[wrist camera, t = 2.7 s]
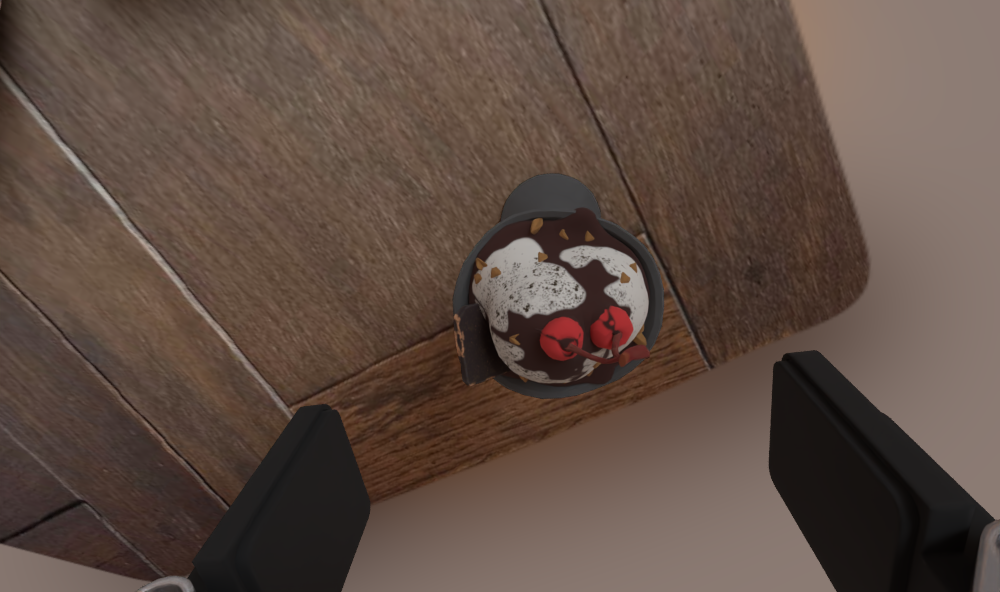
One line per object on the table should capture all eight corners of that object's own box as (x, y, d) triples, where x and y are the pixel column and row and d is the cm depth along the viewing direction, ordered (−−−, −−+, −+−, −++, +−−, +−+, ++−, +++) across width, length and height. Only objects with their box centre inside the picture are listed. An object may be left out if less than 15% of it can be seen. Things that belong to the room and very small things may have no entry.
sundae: (640, 178, 24) (773, 323, 10) (588, 300, 27) (639, 540, 13) (508, 134, 24) (464, 224, 10) (469, 262, 26) (393, 469, 13)
